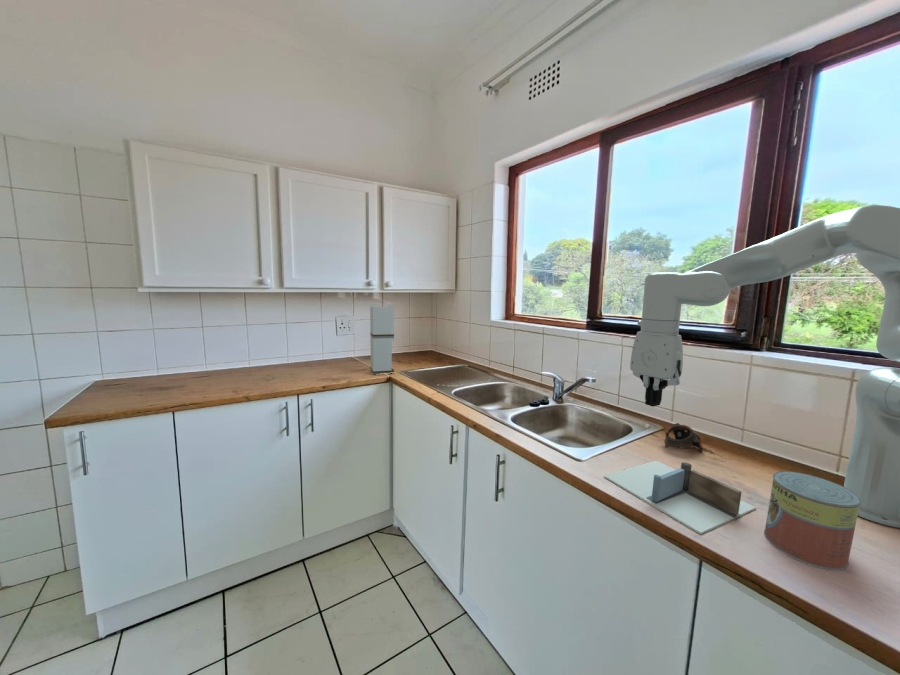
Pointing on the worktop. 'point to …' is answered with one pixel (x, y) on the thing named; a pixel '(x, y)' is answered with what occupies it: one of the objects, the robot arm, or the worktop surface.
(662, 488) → the hinged fence panel
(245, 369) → the worktop surface
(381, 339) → the grooved grey pillar
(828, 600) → the worktop surface
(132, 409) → the worktop surface
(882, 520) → the robot arm
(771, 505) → the canned food
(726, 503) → the fixed fence section
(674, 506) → the card
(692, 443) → the brown open ring frame
